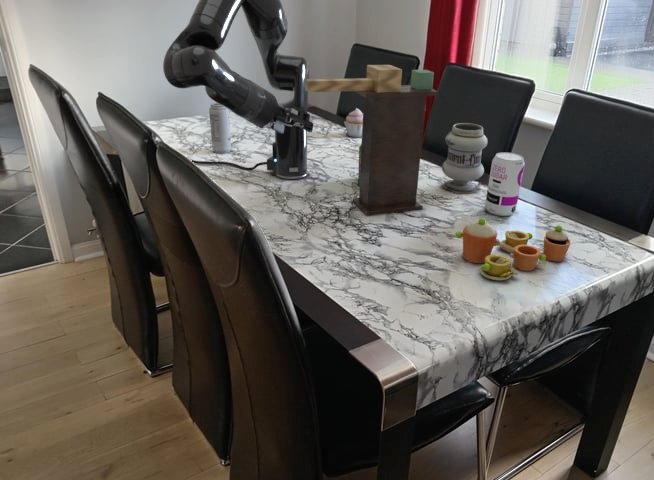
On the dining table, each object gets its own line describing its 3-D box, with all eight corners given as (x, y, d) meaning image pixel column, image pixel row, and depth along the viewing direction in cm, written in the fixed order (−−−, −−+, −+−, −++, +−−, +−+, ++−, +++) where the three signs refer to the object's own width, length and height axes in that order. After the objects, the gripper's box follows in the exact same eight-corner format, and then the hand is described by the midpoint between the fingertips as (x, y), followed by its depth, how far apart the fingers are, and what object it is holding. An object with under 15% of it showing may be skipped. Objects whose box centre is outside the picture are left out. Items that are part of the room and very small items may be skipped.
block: (417, 90, 139) (419, 72, 137) (410, 86, 143) (411, 69, 141) (432, 89, 141) (434, 72, 139) (424, 86, 144) (426, 69, 142)
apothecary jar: (431, 186, 169) (438, 124, 160) (455, 178, 177) (463, 118, 168) (465, 198, 162) (474, 134, 153) (488, 188, 170) (498, 127, 161)
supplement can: (516, 208, 157) (527, 154, 150) (513, 219, 150) (524, 162, 143) (487, 203, 159) (495, 150, 152) (482, 213, 152) (491, 158, 145)
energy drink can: (234, 152, 188) (231, 105, 181) (216, 154, 185) (212, 106, 178) (227, 147, 192) (223, 101, 185) (209, 149, 189) (205, 102, 182)
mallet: (311, 94, 128) (311, 70, 126) (302, 88, 134) (302, 65, 131) (400, 91, 136) (402, 69, 134) (388, 86, 142) (389, 64, 139)
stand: (361, 216, 146) (367, 94, 132) (347, 202, 154) (351, 85, 140) (427, 208, 153) (440, 92, 139) (410, 195, 161) (420, 84, 147)
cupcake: (353, 130, 220) (354, 104, 215) (373, 135, 216) (374, 108, 211) (338, 135, 214) (338, 107, 209) (358, 140, 209) (359, 112, 204)
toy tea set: (492, 287, 117) (500, 244, 112) (444, 256, 128) (450, 216, 124) (578, 262, 130) (589, 222, 125) (528, 236, 141) (536, 198, 136)
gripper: (279, 81, 118) (324, 111, 132) (228, 86, 125) (276, 114, 139) (273, 117, 117) (319, 143, 131) (223, 120, 125) (271, 145, 139)
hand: (296, 128), depth 135 cm, fingers open, 8 cm apart
